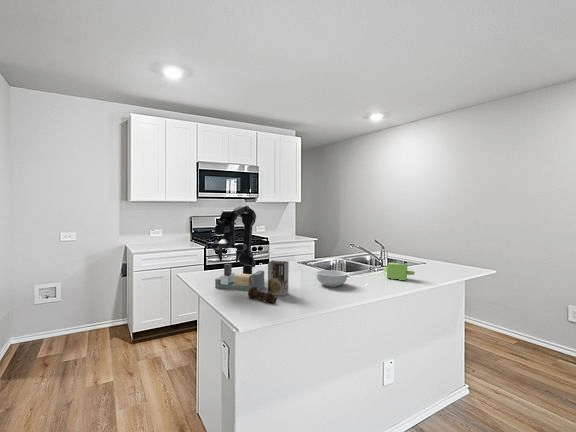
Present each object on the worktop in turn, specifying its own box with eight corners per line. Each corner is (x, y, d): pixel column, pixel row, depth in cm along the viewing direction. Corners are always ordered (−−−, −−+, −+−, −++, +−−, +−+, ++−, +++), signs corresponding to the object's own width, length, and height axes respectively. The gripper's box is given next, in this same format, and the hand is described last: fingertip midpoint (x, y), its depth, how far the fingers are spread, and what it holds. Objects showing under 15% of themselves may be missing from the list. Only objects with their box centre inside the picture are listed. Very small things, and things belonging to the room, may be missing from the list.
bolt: (274, 308, 147) (250, 300, 156) (280, 300, 150) (256, 293, 159) (270, 298, 144) (246, 291, 153) (276, 291, 148) (252, 284, 157)
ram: (227, 280, 181) (227, 262, 181) (234, 280, 180) (234, 263, 180) (220, 284, 172) (220, 265, 172) (227, 284, 171) (227, 266, 171)
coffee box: (288, 292, 165) (289, 261, 164) (284, 296, 159) (284, 263, 158) (272, 291, 168) (272, 260, 167) (267, 294, 162) (267, 262, 161)
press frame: (223, 282, 182) (223, 267, 182) (264, 286, 177) (264, 270, 176) (215, 287, 173) (215, 271, 172) (257, 291, 167) (258, 274, 167)
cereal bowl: (350, 283, 186) (350, 271, 185) (342, 290, 171) (342, 277, 170) (322, 280, 193) (322, 268, 192) (312, 286, 178) (312, 273, 177)
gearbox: (415, 279, 200) (416, 264, 199) (413, 282, 191) (414, 266, 191) (385, 275, 208) (386, 261, 208) (381, 278, 199) (382, 262, 199)
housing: (238, 282, 178) (238, 273, 178) (252, 283, 176) (252, 274, 176) (234, 285, 172) (234, 275, 172) (248, 286, 170) (248, 276, 170)
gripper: (205, 234, 169) (205, 263, 170) (239, 235, 165) (239, 266, 166) (215, 232, 180) (215, 260, 181) (247, 233, 176) (247, 262, 176)
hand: (228, 262), depth 176 cm, fingers open, 9 cm apart
